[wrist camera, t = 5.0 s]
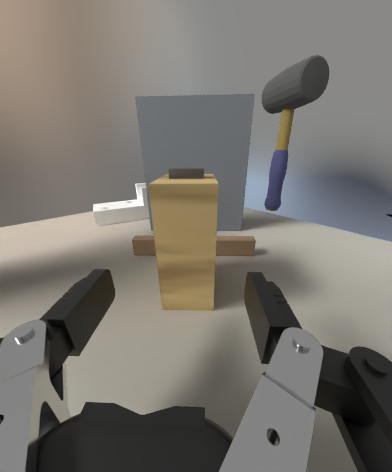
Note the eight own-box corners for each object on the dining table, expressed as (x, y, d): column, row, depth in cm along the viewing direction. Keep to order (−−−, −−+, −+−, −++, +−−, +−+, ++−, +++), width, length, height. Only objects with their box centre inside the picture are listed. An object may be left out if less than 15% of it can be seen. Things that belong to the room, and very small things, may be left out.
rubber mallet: (300, 215, 44) (338, 53, 32) (274, 218, 43) (303, 47, 30) (269, 203, 55) (288, 79, 43) (247, 205, 54) (261, 76, 41)
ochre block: (213, 310, 18) (218, 171, 12) (162, 309, 18) (146, 172, 13) (210, 269, 24) (213, 165, 19) (173, 268, 24) (165, 166, 19)
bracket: (148, 211, 50) (145, 183, 47) (156, 218, 45) (152, 186, 42) (96, 218, 45) (89, 187, 42) (97, 227, 39) (88, 192, 36)
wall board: (253, 255, 27) (280, 63, 18) (134, 254, 28) (102, 69, 19) (239, 227, 38) (251, 97, 29) (153, 226, 38) (139, 100, 29)
